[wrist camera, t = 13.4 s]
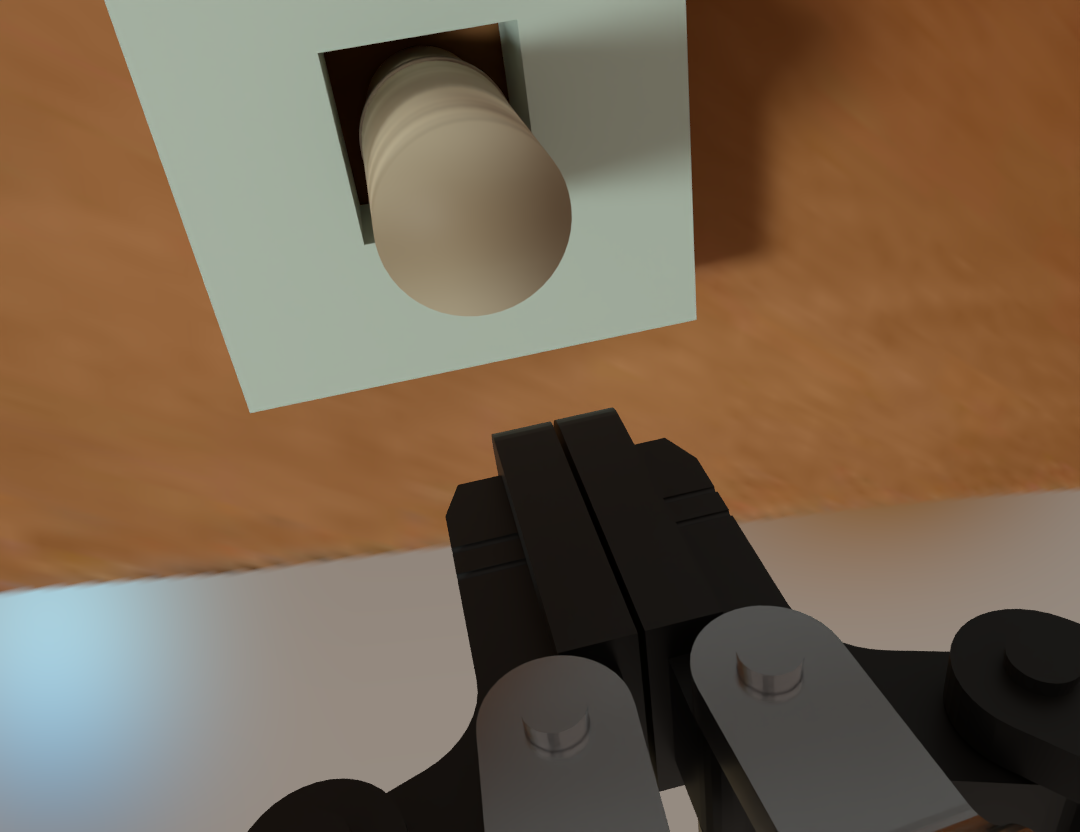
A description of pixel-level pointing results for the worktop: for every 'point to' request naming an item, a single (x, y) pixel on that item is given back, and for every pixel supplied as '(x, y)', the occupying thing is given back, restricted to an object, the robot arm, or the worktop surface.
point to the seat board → (346, 226)
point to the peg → (458, 186)
